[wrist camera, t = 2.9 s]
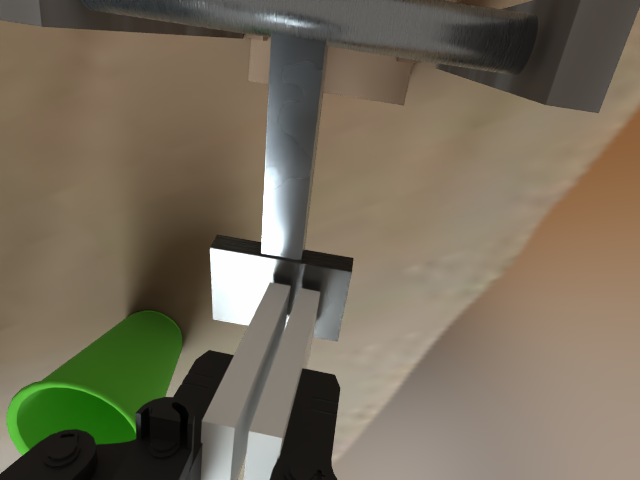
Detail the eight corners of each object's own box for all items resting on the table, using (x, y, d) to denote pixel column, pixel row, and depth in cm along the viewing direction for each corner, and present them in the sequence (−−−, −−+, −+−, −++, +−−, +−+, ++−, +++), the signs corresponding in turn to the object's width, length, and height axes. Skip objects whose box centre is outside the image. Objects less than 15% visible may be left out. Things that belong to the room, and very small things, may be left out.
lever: (221, 176, 27) (126, 322, 17) (211, -325, 15) (-102, -744, 6) (407, 207, 26) (417, 374, 17) (542, -284, 15) (824, -659, 5)
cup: (171, 273, 35) (92, 365, 25) (225, 362, 38) (173, 476, 28) (81, 307, 37) (-25, 403, 27) (139, 388, 40) (62, 502, 30)
